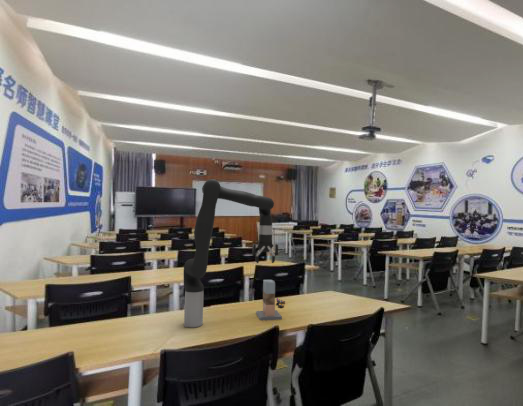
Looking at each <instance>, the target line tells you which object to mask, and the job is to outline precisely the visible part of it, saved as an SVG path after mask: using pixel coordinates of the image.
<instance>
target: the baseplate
mask: <svg viewBox="0 0 523 406" xmlns="http://www.w3.org/2000/svg"><path fill="white" fill-rule="evenodd" d="M255 314H256V316H257V317H258V320H259V321H275V320H276V321H277V320H278V321H279V320H282V319H283V317H282V314H280V312H279V311H278V310H276V304H275V305H266V304H265V303H264V302H263V301H262V310H256V311H255Z"/></svg>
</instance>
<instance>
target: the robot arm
mask: <svg viewBox="0 0 523 406" xmlns="http://www.w3.org/2000/svg"><path fill="white" fill-rule="evenodd" d="M201 191H202V202H201V206H200V209H199V211H198V214H197V217H196V220H195V221H196V222H195V224H194V229H193V231H194V232H193V233H194V234H193V238H194V245H195V252H194V257H193V258H189V259H187V260H186V261H185V263H184V265H183V286H184V290H185V291H184V309H183V310H184V312H183V313H184V315H183V316H184V317H183V327H184V328H185V327H186V328H198V327H202V326H203V324H204V323H203V322H204V320H203V318H204V284H203V283H202V281H201V279H202V278H203V277H204V276H205V275H206V273H207V270H208V260H209V252H210V246H211V239H212V234H213V229H214V225H215V217H216V216H215V215H216V208H217V203H218V200H219V199H220V200H226V201H229V202H232V203H233V202H234V203H238V204H240V205H244V206H248V207H254V208H255V207H256V208H257V209H258V214H259V226H258V227H259V228H258V244H255V243H253V244H252V250H251V251H252V253H251V254H252V256H254V257H255V262H256V264H259V261H260V259H259V256H260V255H261V253H270V254H271V263H272V264H274V263H275V262H276V256H278V255H279V244H277V243H275V244H273V234H274V232H273V216H272V215H271V214H272V213H271V212H272V211H271V210H272V209H273V208H274V206H275V202H274V200H273V199H272V198H271V197H269V196H264V195H257V194H255V193H251V192H248V191H244V190H239V189H238V190H236V189H230V188H227V187H224V186H221V184H220V182H219V180H217V179H214V178H211V179H208V180H206V181H205V182H204V183H203V185H202V188H201ZM257 248H258V250H257V251H256V249H257ZM273 248H274V251H273Z"/></svg>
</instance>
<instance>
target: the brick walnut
mask: <svg viewBox="0 0 523 406" xmlns="http://www.w3.org/2000/svg"><path fill="white" fill-rule="evenodd" d="M263 302H264V303H265V304H266V305H275V306H276V293H275V294H266V293H265V292H264V291H263V290H262V303H263Z"/></svg>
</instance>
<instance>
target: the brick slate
mask: <svg viewBox="0 0 523 406" xmlns="http://www.w3.org/2000/svg"><path fill="white" fill-rule="evenodd" d="M262 281H263V283H262V292H263V291H264V292H265V293H266V294H275V295H276V282H275V280H273V279H263V280H262Z"/></svg>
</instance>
